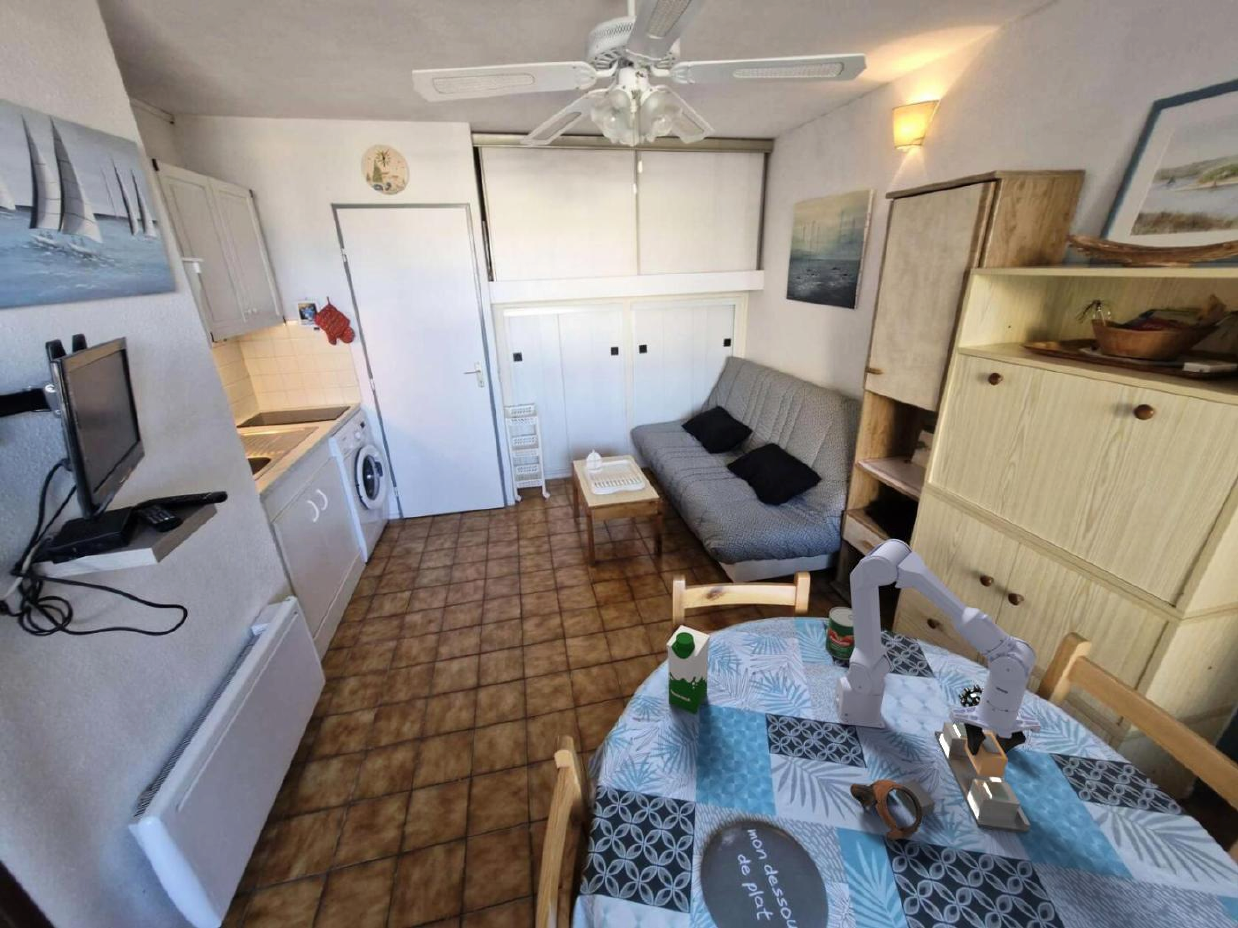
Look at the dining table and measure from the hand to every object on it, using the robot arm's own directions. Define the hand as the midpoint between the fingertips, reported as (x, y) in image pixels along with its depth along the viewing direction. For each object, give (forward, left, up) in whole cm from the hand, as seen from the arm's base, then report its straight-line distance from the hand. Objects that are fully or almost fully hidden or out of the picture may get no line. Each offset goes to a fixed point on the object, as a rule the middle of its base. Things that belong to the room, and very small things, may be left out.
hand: (984, 752), depth 98 cm
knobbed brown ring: (-20, -10, -8) cm, 24 cm away
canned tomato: (-18, +35, -8) cm, 40 cm away
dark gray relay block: (-14, -7, -8) cm, 17 cm away
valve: (+8, +13, -8) cm, 17 cm away
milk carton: (-58, +13, -8) cm, 60 cm away
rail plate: (0, 0, -8) cm, 8 cm away
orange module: (0, 0, -2) cm, 3 cm away
